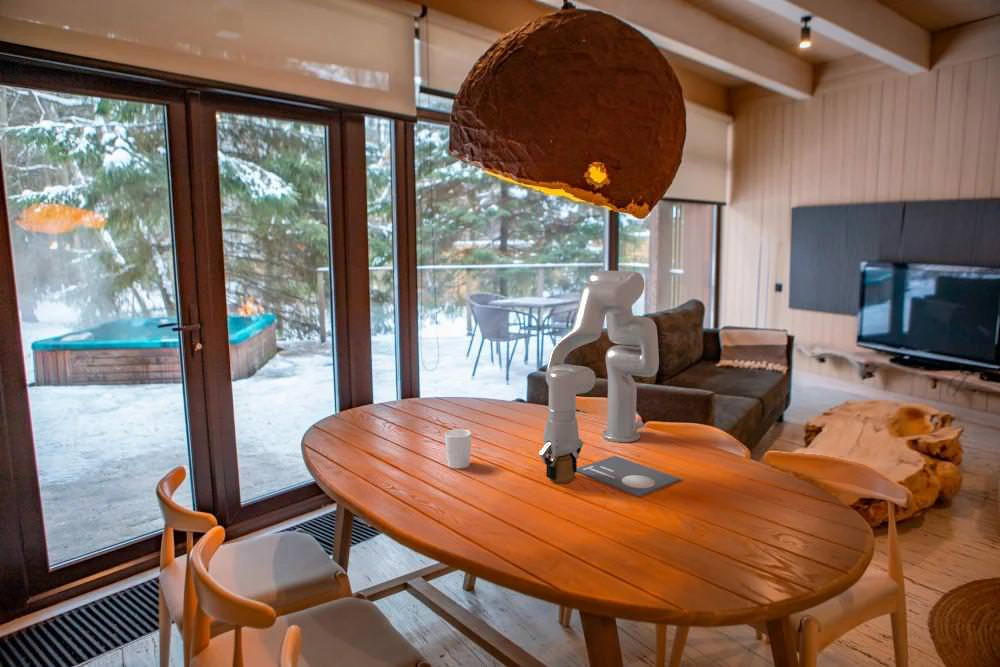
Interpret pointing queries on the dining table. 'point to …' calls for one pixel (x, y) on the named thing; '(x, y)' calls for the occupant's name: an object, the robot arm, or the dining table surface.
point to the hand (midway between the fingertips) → (561, 474)
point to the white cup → (458, 448)
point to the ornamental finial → (564, 470)
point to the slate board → (627, 476)
